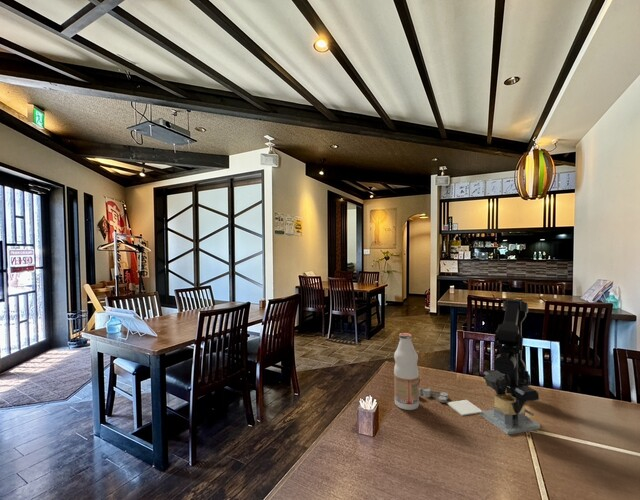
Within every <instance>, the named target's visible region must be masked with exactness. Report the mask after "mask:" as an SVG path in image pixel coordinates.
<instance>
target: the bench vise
mask: <svg viewBox="0 0 640 500" xmlns="http://www.w3.org/2000/svg"><path fill="white" fill-rule="evenodd" d="M506 400H507V401H512V400H509V399H506ZM524 411H525V413H520V414H514V415H508V414H506V413H505V412H503V411H501V410H500V409H498V408H497V407H495V406H494V407H493V408H492V409H488V410H482V411H481V413H480V416H481V417H483V418H484V419H485V420H487V421H488V422H490V423H491V424H492V425H493V426H495V427H496V428H498V429H499V430H501V432H503V433H504V434H506V435H507V436H508V435H515V434H520V433H525V432H530V431H537V430H541V423H540V424H539V423H538V422H536V421H535V420H534V419H532V418H530V417H528V416H527V415H526V413H527V414H528V415H530V416H532V417H533V416H534V413H533V412H531V411H529V410H528V409H527V408H524Z"/></svg>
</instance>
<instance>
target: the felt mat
mask: <svg viewBox="0 0 640 500" xmlns="http://www.w3.org/2000/svg"><path fill="white" fill-rule="evenodd" d="M446 404H447V405H448V406H449V407H450V408H452V409H453V411H455V412H456V413H458V415H460V416H462V417H463V416H470V415H476V414H481V411H483V410H481V408H479V407H478V406H476V405H475V404H473V403H472V402H470V401H469V400H468V399H462V400H455V401H454V400H453V401H447V402H446Z"/></svg>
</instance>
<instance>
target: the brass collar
mask: <svg viewBox="0 0 640 500" xmlns="http://www.w3.org/2000/svg"><path fill="white" fill-rule="evenodd" d="M511 395H512V394H510V393H505V394H498V395H497V394H494V398H493V400H494V401H493V402H494V407H497V408H498V409H500V410H501V411H503V412H505V413H506V414H508V415H514V414H516V413H515V404H514V398H513V397H512V396H511ZM506 399H509V400H512V401H507V400H506ZM524 409H525V405H524V406H523V407H522V409H521V411H520V412H519V414H520V413H525V411H524ZM525 414H526V413H525Z"/></svg>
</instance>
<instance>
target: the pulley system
mask: <svg viewBox="0 0 640 500" xmlns="http://www.w3.org/2000/svg"><path fill="white" fill-rule="evenodd" d="M435 394H436V395H435ZM422 395H423V397H424V398H427V399H428V398H431V396H432V397H433V398H434V399H436V400H437V401H438V402H440V403H442V404H443V403H447V402H448V399H449V394H448V393H447V392H444V391H443V392H441V391H435V390H431V389H430V388H429V387H423V388H421V387H419V398H420V397H421V396H422ZM437 395H439V396H437Z"/></svg>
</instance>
